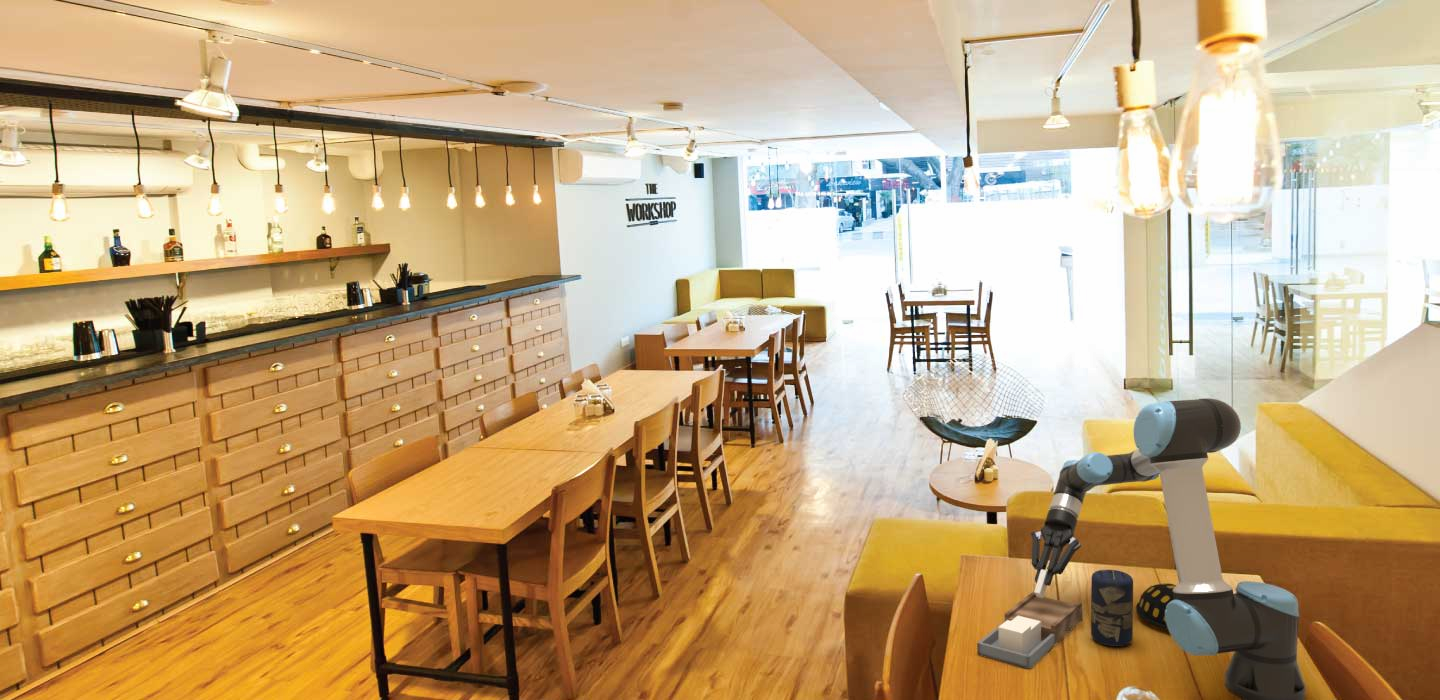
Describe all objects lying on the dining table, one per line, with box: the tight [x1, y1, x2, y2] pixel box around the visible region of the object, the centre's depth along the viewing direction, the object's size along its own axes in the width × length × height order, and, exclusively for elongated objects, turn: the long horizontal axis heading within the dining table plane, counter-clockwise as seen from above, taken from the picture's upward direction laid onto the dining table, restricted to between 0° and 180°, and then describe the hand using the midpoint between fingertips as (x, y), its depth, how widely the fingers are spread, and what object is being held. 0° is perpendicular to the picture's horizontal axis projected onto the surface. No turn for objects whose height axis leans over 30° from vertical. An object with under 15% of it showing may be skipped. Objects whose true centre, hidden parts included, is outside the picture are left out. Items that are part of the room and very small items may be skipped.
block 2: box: [1012, 616, 1041, 649], centre depth 230 cm, size 6×6×5 cm
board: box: [1004, 590, 1083, 645], centre depth 240 cm, size 18×13×5 cm
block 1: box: [997, 620, 1031, 655], centre depth 226 cm, size 6×6×5 cm
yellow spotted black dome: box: [1135, 582, 1177, 630], centre depth 239 cm, size 16×9×20 cm
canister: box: [1090, 569, 1134, 647], centre depth 229 cm, size 10×10×18 cm
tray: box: [976, 621, 1056, 670], centre depth 228 cm, size 15×13×3 cm
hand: (1038, 595), depth 237 cm, fingers closed
